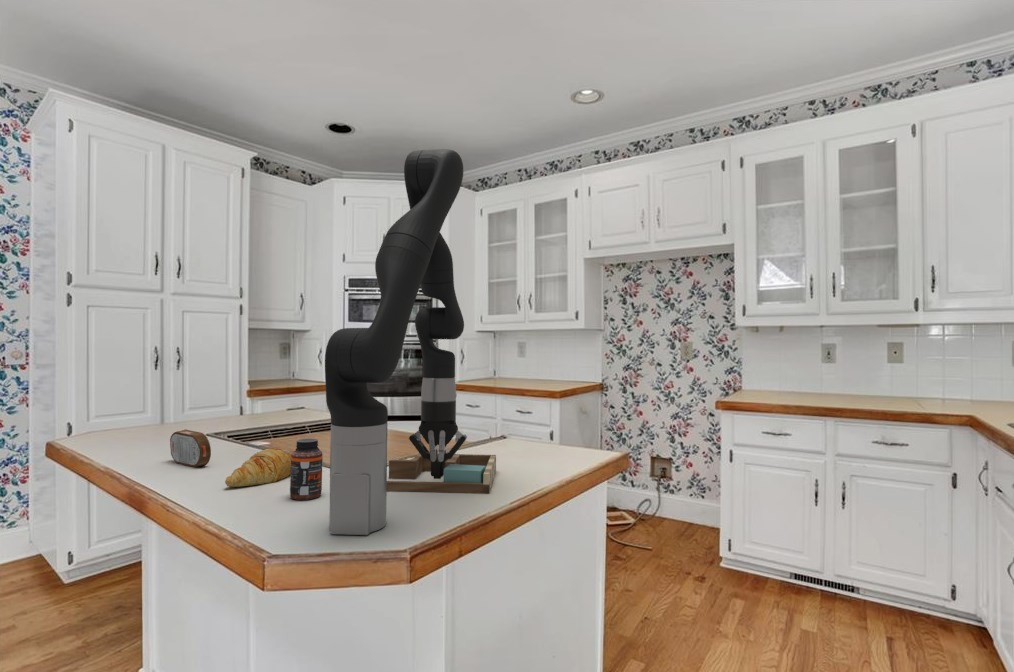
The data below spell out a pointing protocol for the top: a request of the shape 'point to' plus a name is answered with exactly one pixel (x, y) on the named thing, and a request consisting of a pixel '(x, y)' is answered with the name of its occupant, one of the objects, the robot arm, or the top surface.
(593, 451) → the top surface
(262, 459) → the croissant
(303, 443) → the supplement bottle
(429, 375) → the robot arm
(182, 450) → the tin
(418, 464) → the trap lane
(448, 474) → the block
